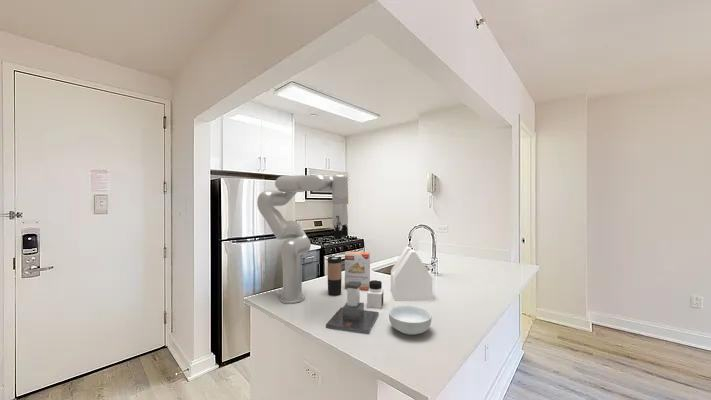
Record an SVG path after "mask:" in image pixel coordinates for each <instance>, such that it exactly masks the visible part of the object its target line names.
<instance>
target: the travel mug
mask: <svg viewBox="0 0 711 400" xmlns="http://www.w3.org/2000/svg"><path fill="white" fill-rule="evenodd" d="M342 273H343V272H342V256H335V255H331V256H328V257H327V295H328V296H331V297H338V296H341V295H342V282H343V281H342V280H343V279H342V277H343V276H342V275H343V274H342Z"/></svg>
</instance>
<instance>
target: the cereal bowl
mask: <svg viewBox="0 0 711 400" xmlns="http://www.w3.org/2000/svg"><path fill="white" fill-rule="evenodd" d="M388 311H389V312H388V318H389V319H388V320H389V322H390V324H391V326H392V327H393V328H394V329H395V330H397V331H399V332H401V333H403V334H405V335H409V336H415V335H418V334H422V333H425V332H426V331H428V330H429V328H431V327H430V326H431V323H432V319H433V318H432V314H431V312H430V311H429V310H428V309H425V308H423V307H420V306H416V305H410V304H405V305H404V304H402V305H396V306H394V307H391V308H389V310H388Z"/></svg>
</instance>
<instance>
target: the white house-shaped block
mask: <svg viewBox="0 0 711 400" xmlns="http://www.w3.org/2000/svg"><path fill="white" fill-rule="evenodd" d="M390 292H391V294H392V297H393V299H394V301H396V302H397V301H405V302H406V301H410V302H411V301H433V277H432V275H431V274H430V272H429V271H428V268H427V267H426V266H425V264H424V263H423V261H422V259H421V258H420V257H419V255H418V254H417V252H416V251H415V250H414V249H412V248H411V247H410V246H405V247H404V249H403V250H402V252H401V253H400V255H399V257H398V259H397V260H396V262H395V263H394V265H393V266H392V268H391V270H390Z"/></svg>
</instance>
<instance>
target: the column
mask: <svg viewBox="0 0 711 400" xmlns="http://www.w3.org/2000/svg"><path fill="white" fill-rule="evenodd" d="M360 286H361V282H351V281H350V282H348V283H347V284H346V288H347V289H346V290H347V291H346V293H347V294H346V298H347V299H346V300H347V301H346V303H347V307H354V308H358V306H359V305H360V303H361V302H360V297H361V296H360V293H361V292H360V291H361V290H360Z"/></svg>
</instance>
